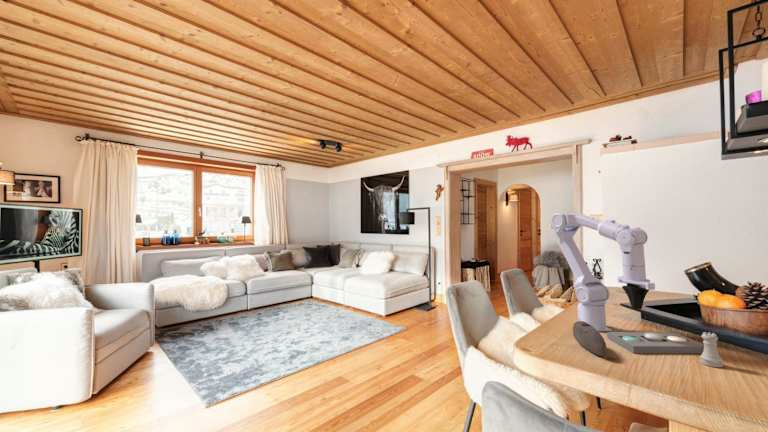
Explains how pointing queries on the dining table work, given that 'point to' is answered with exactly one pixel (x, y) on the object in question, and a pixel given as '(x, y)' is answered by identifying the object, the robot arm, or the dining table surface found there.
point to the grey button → (653, 337)
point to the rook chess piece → (711, 351)
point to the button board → (655, 343)
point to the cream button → (677, 339)
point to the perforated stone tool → (589, 338)
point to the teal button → (631, 339)
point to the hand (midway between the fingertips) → (636, 308)
